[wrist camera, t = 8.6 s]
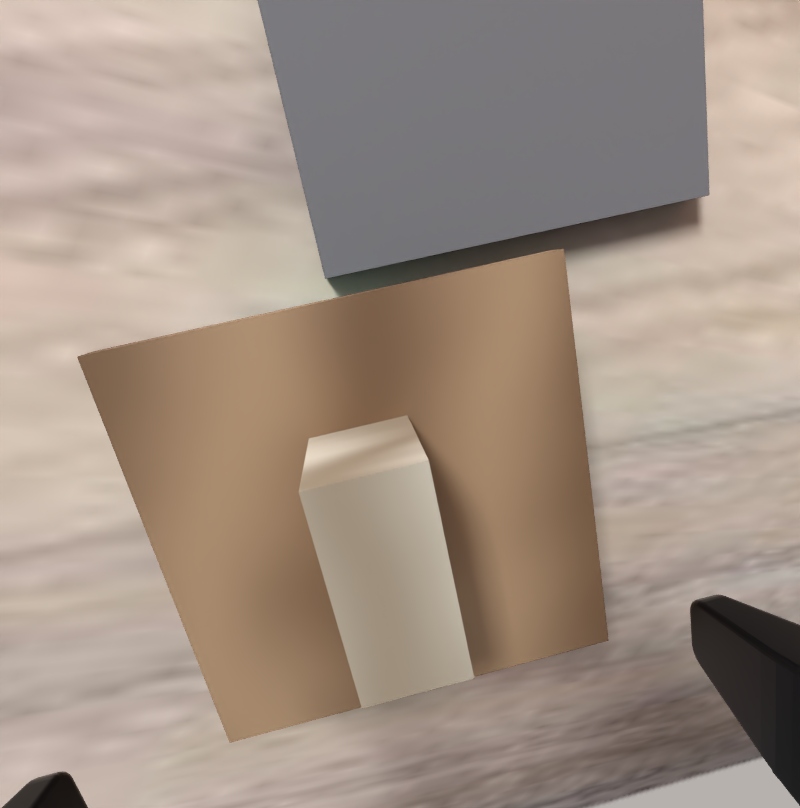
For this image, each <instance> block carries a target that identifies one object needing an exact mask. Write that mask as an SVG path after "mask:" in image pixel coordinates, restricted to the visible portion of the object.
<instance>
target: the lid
mask: <svg viewBox="0 0 800 808" xmlns="http://www.w3.org/2000/svg"><path fill="white" fill-rule="evenodd" d="M78 360H79V363H80V365H81V368H82V370H83V373H84V375H85V378H86V380H87V383H88V385H89V388H90V390H91V393H92V395H93V398H94V400H95V403H96V406H97V408H98V411H99V413H100V416H101V418H102V421H103V423H104V426H105V428H106V431H107V433H108V436H109V438H110V441H111V444H112V446H113V449H114V451H115V454H116V456H117V459H118V461H119V464H120V466H121V469H122V471H123V474H124V476H125V479H126V481H127V484H128V487H129V489H130V492H131V494H132V497H133V499H134V502H135V504H136V507H137V509H138V512H139V514H140V517H141V519H142V522H143V524H144V527H145V530H146V532H147V535H148V537H149V540H150V542H151V545H152V547H153V550H154V552H155V555H156V557H157V560H158V562H159V565H160V568H161V570H162V573H163V575H164V578H165V580H166V583H167V585H168V588H169V590H170V593H171V595H172V598H173V600H174V603H175V605H176V608H177V611H178V613H179V616H180V618H181V621H182V623H183V626H184V628H185V631H186V633H187V636H188V638H189V641H190V643H191V646H192V648H193V651H194V654H195V656H196V659H197V661H198V664H199V666H200V669H201V671H202V674H203V676H204V679H205V681H206V684H207V686H208V689H209V691H210V694H211V697H212V699H213V702H214V704H215V707H216V709H217V712H218V714H219V717H220V719H221V722H222V724H223V727H224V729H225V732H226V735H227V737H228V740H229V742H230V743H231V742H234V741H238V740H242V739H245V738H249V737H253V736H256V735H260V734H264V733H268V732H271V731H275V730H279V729H282V728H286V727H290V726H293V725H297V724H301V723H305V722H308V721H312V720H316V719H319V718H323V717H327V716H331V715H334V714H338V713H342V712H345V711H349V710H353V709H356V708H360V707H362V709H363V708H367V707H371V706H374V705H378V704H382V703H385V702H389V701H393V700H397V699H400V698H404V697H408V696H411V695H415V694H419V693H422V692H426V691H430V690H434V689H437V688H441V687H445V686H448V685H452V684H456V683H459V682H463V681H467V680H471V679H474V677H475V676H479V675H482V674H486V673H490V672H493V671H497V670H501V669H505V668H508V667H512V666H516V665H519V664H523V663H527V662H530V661H534V660H538V659H542V658H545V657H549V656H553V655H556V654H560V653H564V652H568V651H571V650H575V649H579V648H582V647H586V646H590V645H593V644H597V643H601V642H605V641H608V632H607V623H606V614H605V605H604V597H603V588H602V579H601V570H600V561H599V553H598V544H597V535H596V526H595V517H594V509H593V500H592V491H591V482H590V473H589V465H588V456H587V447H586V438H585V429H584V421H583V412H582V403H581V394H580V386H579V377H578V368H577V359H576V350H575V342H574V333H573V324H572V315H571V306H570V298H569V289H568V280H567V271H566V262H565V254H564V249H557V250H549V251H545V252H540V253H536V254H531V255H527V256H522V257H518V258H513V259H509V260H504V261H500V262H495V263H491V264H486V265H481V266H477V267H472V268H468V269H463V270H459V271H454V272H450V273H445V274H441V275H436V276H432V277H427V278H423V279H418V280H414V281H409V282H405V283H400V284H396V285H391V286H387V287H382V288H378V289H373V290H369V291H364V292H360V293H355V294H351V295H346V296H342V297H337V298H333V299H328V300H324V301H319V302H315V303H310V304H305V305H301V306H296V307H292V308H287V309H283V310H278V311H274V312H269V313H265V314H260V315H256V316H251V317H247V318H242V319H238V320H233V321H229V322H224V323H220V324H215V325H211V326H206V327H202V328H197V329H193V330H188V331H184V332H179V333H175V334H170V335H166V336H161V337H157V338H152V339H148V340H143V341H139V342H134V343H129V344H125V345H120V346H116V347H111V348H107V349H102V350H98V351H94V352H91V353H87V354H84V355H81V356H78Z"/></svg>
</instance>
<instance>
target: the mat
mask: <svg viewBox="0 0 800 808" xmlns="http://www.w3.org/2000/svg"><path fill="white" fill-rule="evenodd" d="M258 4H259V8H260V12H261V16H262V20H263V24H264V28H265V33H266V37H267V41H268V45H269V49H270V53H271V57H272V61H273V66H274V70H275V74H276V78H277V82H278V86H279V90H280V94H281V98H282V103H283V107H284V111H285V115H286V119H287V123H288V127H289V131H290V136H291V140H292V144H293V148H294V152H295V156H296V160H297V164H298V169H299V173H300V177H301V181H302V185H303V189H304V193H305V197H306V202H307V206H308V210H309V214H310V218H311V222H312V226H313V230H314V235H315V239H316V243H317V247H318V251H319V255H320V259H321V263H322V267H323V272H324V276H325V279H326V278H330V277H335V276H339V275H344V274H349V273H353V272H358V271H362V270H367V269H372V268H376V267H381V266H386V265H390V264H395V263H399V262H404V261H409V260H413V259H418V258H422V257H427V256H432V255H436V254H441V253H445V252H450V251H455V250H459V249H464V248H468V247H473V246H478V245H482V244H487V243H492V242H496V241H501V240H505V239H510V238H515V237H519V236H524V235H528V234H533V233H538V232H542V231H547V230H551V229H556V228H561V227H565V226H570V225H574V224H579V223H584V222H588V221H593V220H597V219H602V218H607V217H611V216H616V215H621V214H625V213H630V212H634V211H639V210H644V209H648V208H653V207H657V206H662V205H667V204H671V203H676V202H680V201H685V200H690V199H694V198H699V197H703V196H708V195H709V170H708V140H707V111H706V81H705V51H704V22H703V0H258Z"/></svg>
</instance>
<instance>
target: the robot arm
mask: <svg viewBox="0 0 800 808" xmlns="http://www.w3.org/2000/svg"><path fill="white" fill-rule="evenodd" d="M690 614H691V633H692V647H693V651H694V654H695V656H696V658H697V660H698V662H699V664H700V666H701V667H702V668H703V670H704V671H705V673H706V674H707V676H708V677H709V679H710V680H711V682H712V683H713V685H714V686H715V688H716V689H717V690H718V692H719V693H720V695H721V696H722V698H723V699H724V701H725V702H726V704H727V705H728V707H729V708H730V710H731V711H732V712H733V714H734V715H735V717H736V718H737V720H738V721H739V723H740V724H741V726H742V727H743V729H744V730H745V732H746V733H747V735H748V736H749V737H750V739H751V740H752V742H753V743H754V745H755V746H756V748H757V749H758V751H759V752H760V754H761V755H762V756H763V758H764V759H765V761H766V762H767V763H768V765H769V766H770V768H771V769H772V771H773V773H774V774H775V775H776V776H777V778H778V779H779V780H780V781H781V782H782V784H783V785H784V786H785V787H786V789H787V790H788V791H789V792H790V794H791V795H792V796H793V797H794V799H795V800H796V801H797V803H798V804H799V805H800V625H799V624H796V623H793V622H791V621H788V620H786V619H783V618H780V617H778V616H775V615H773V614H770V613H768V612H765V611H762V610H760V609H757V608H755V607H752V606H750V605H747V604H744V603H742V602H739V601H737V600H734V599H731V598H729V597H726V596H723V595H713V596H709V597H705V598H702V599H698V600H695V601H694V602H693V603H692V604H691V607H690ZM2 808H88V807H87V805H86V803H85V801H84V799H83V797H82V795H81V793H80V791H79V789H78V788H77V786H76V784H75V782H74V780H73V778H72V777H71V775H70V774H68V773H66V772H57V773H53V774H50V775H46V776H42V777H38V778H36V779H34V780H32V781H30V782H29V783H28V784H26V785H25V786H24V787H23V788H22V789H21V790H20V791H19V792H18V793H17V794H16V795H15V796H14V797H13V798H12V799H11V800H10V801H8V802H7V803H6V804H5V805H4V806H3V807H2Z"/></svg>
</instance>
